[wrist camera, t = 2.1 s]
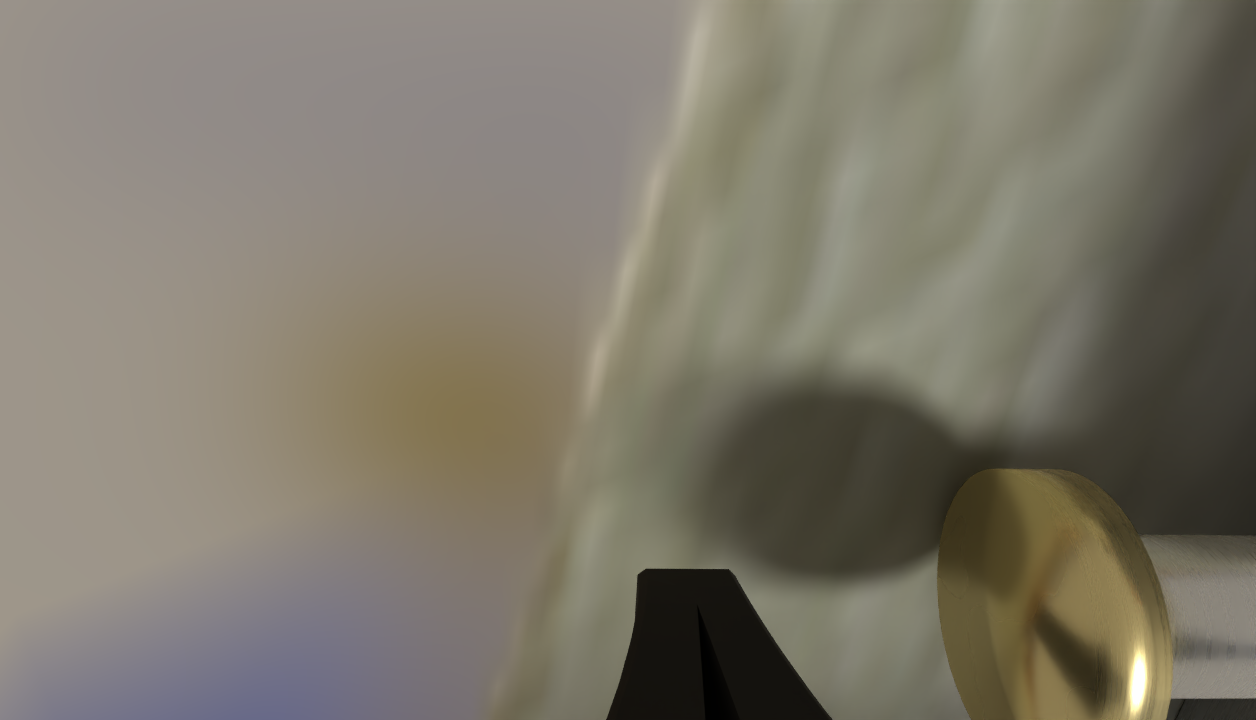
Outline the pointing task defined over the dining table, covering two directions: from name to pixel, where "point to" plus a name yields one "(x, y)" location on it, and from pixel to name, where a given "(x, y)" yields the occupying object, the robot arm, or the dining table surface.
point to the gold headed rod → (1087, 604)
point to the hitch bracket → (1218, 709)
